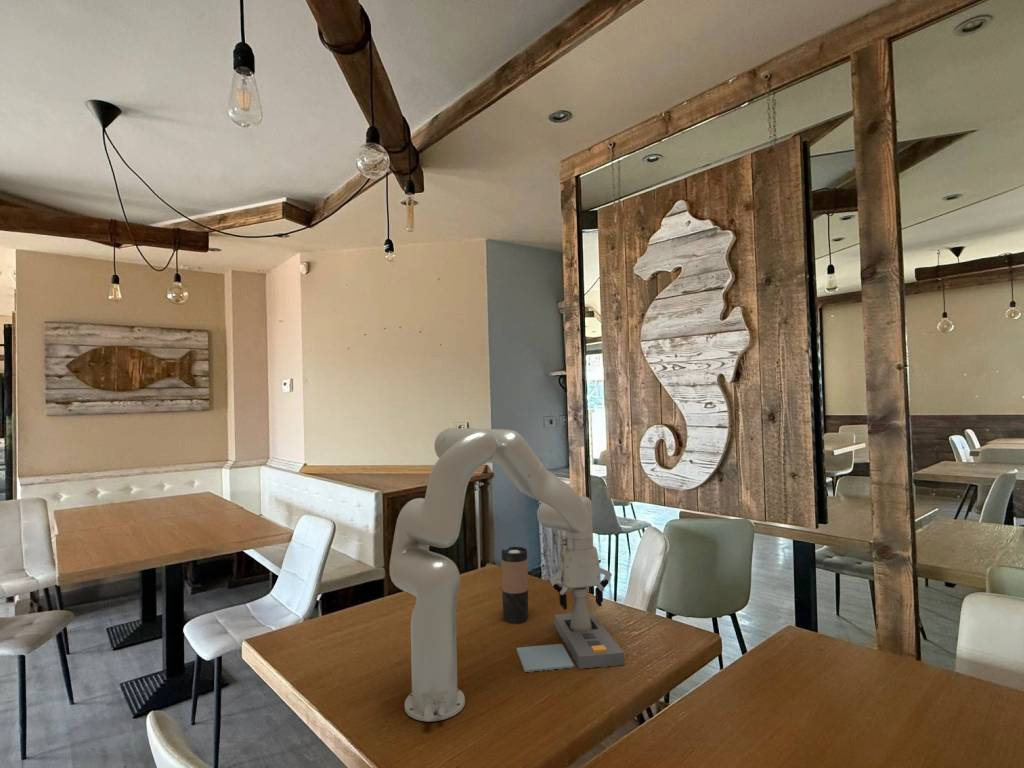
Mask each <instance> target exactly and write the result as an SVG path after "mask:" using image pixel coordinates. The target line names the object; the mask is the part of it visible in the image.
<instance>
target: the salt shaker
mask: <svg viewBox="0 0 1024 768" xmlns="http://www.w3.org/2000/svg"><path fill="white" fill-rule="evenodd" d="M571 590H572V591H571V595H572V596H573V604H572V611H571V612H572V617H571V624H570V629H571V631H583V630H591V628H592V625H591V621H590V616H589V612H590V611H589V607H588V601H587V597H588V596H589V589H588V587H582V588H571Z"/></svg>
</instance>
